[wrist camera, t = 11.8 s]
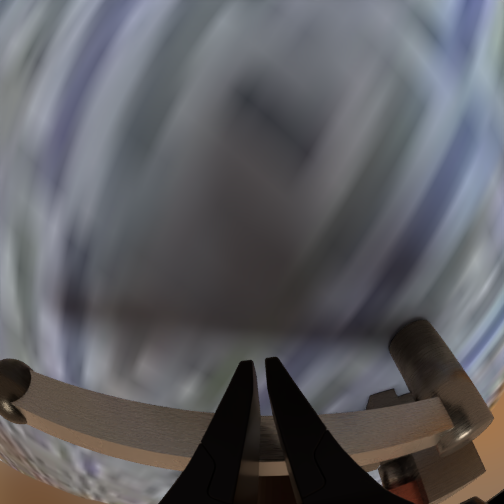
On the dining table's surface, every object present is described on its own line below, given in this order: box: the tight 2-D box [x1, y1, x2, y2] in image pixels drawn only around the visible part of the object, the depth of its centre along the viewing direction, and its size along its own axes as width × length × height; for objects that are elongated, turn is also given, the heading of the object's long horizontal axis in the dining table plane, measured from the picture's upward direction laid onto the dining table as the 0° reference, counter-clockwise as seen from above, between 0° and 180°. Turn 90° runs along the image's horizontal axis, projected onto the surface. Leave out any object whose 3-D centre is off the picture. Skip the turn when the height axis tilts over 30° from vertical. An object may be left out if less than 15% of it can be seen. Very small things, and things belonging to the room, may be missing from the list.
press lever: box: [0, 320, 494, 476], centre depth 11 cm, size 3×24×8 cm, turn 83°
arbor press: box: [360, 389, 486, 504], centre depth 15 cm, size 11×8×10 cm
